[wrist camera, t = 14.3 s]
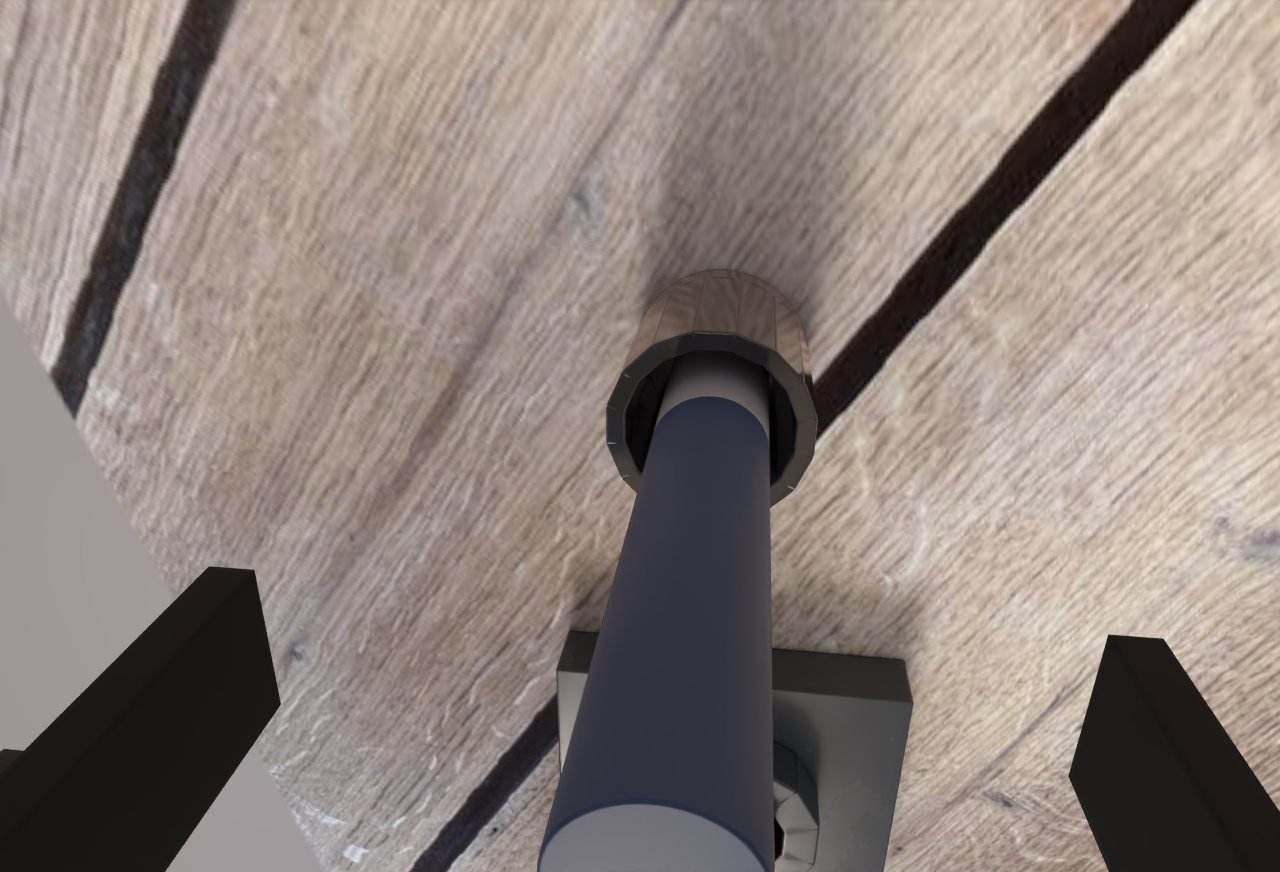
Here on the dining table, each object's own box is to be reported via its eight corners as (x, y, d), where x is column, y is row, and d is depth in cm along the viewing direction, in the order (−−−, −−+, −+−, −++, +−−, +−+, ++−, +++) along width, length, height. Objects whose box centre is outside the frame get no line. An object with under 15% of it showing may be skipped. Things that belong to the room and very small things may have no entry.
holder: (635, 424, 29) (606, 515, 24) (637, 265, 27) (605, 326, 21) (798, 434, 28) (806, 531, 23) (813, 272, 26) (826, 337, 21)
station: (573, 828, 37) (552, 915, 33) (568, 630, 33) (544, 705, 29) (870, 861, 36) (882, 956, 32) (904, 660, 31) (923, 742, 28)
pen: (672, 404, 27) (540, 954, 11) (675, 316, 26) (531, 788, 10) (765, 409, 27) (765, 984, 11) (771, 321, 26) (783, 816, 10)
